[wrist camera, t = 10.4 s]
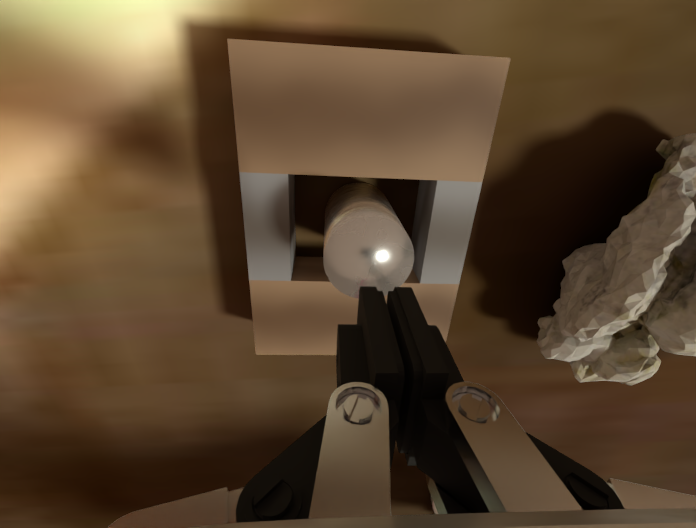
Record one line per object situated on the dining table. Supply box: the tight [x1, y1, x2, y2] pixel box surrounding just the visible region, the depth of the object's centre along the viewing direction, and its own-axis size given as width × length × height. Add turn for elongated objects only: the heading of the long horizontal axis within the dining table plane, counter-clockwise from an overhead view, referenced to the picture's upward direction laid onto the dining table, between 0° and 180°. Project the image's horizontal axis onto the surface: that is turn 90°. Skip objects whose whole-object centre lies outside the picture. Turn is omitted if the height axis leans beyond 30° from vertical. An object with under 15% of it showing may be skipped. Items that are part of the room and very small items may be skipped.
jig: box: [227, 39, 511, 355], centre depth 21 cm, size 18×13×4 cm
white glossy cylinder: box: [323, 182, 414, 299], centre depth 19 cm, size 4×4×7 cm
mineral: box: [537, 134, 696, 386], centre depth 21 cm, size 12×17×10 cm
